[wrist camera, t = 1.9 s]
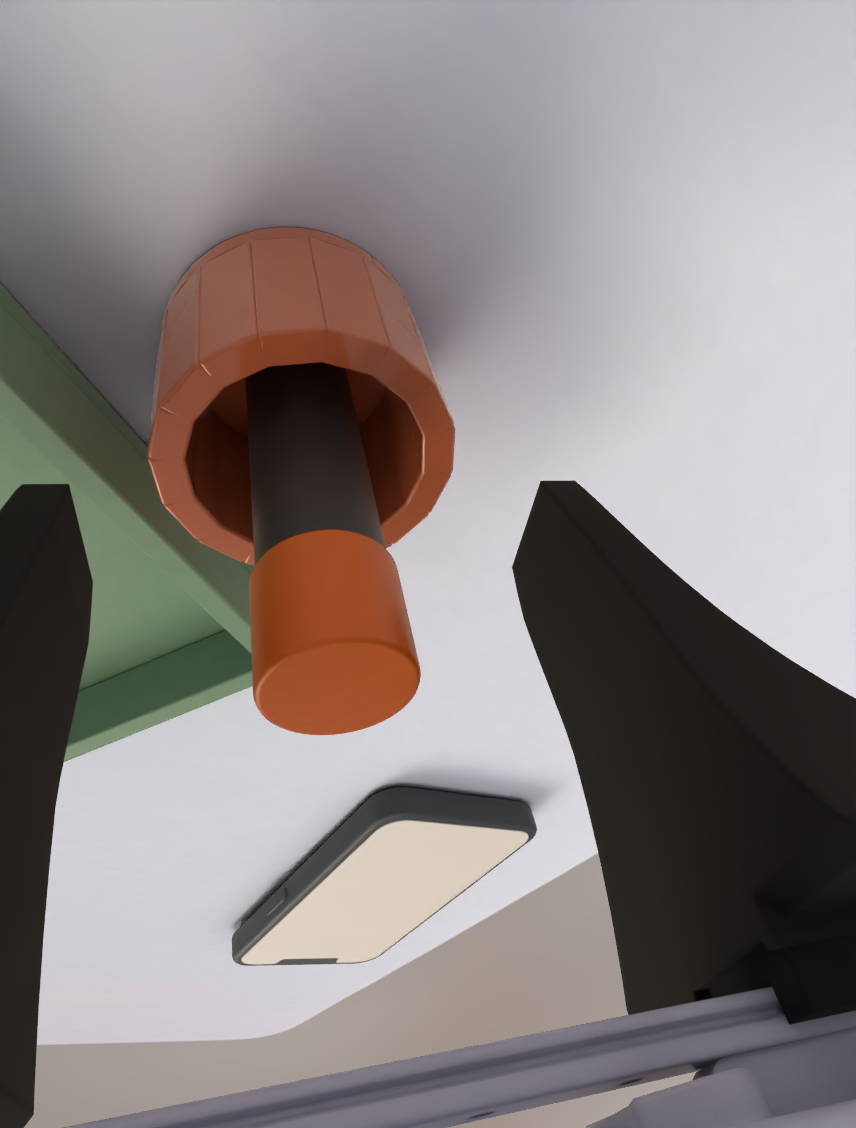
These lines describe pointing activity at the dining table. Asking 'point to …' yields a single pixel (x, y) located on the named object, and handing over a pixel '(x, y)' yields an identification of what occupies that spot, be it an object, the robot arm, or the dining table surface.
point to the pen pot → (286, 337)
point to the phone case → (382, 876)
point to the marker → (320, 562)
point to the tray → (121, 549)
